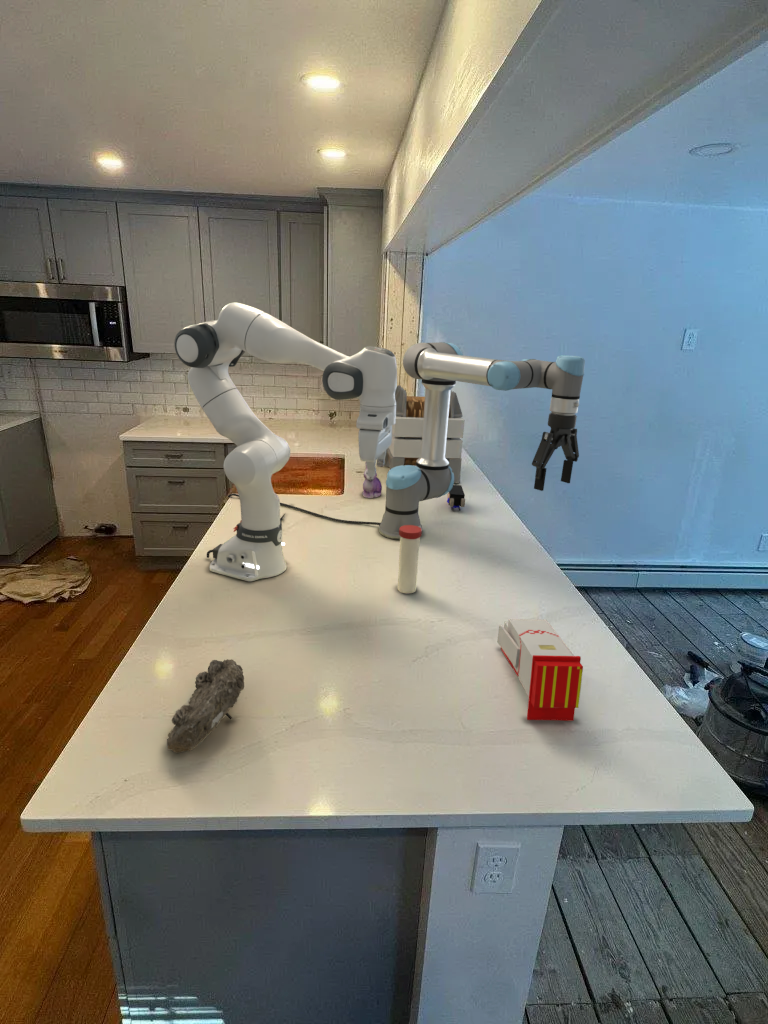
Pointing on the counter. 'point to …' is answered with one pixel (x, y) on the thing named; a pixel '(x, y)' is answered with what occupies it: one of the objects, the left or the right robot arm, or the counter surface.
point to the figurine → (371, 485)
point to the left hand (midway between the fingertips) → (376, 471)
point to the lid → (410, 532)
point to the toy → (542, 668)
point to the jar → (408, 565)
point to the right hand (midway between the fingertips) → (552, 485)
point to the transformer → (411, 430)
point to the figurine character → (456, 497)
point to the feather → (281, 518)
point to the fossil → (206, 705)
